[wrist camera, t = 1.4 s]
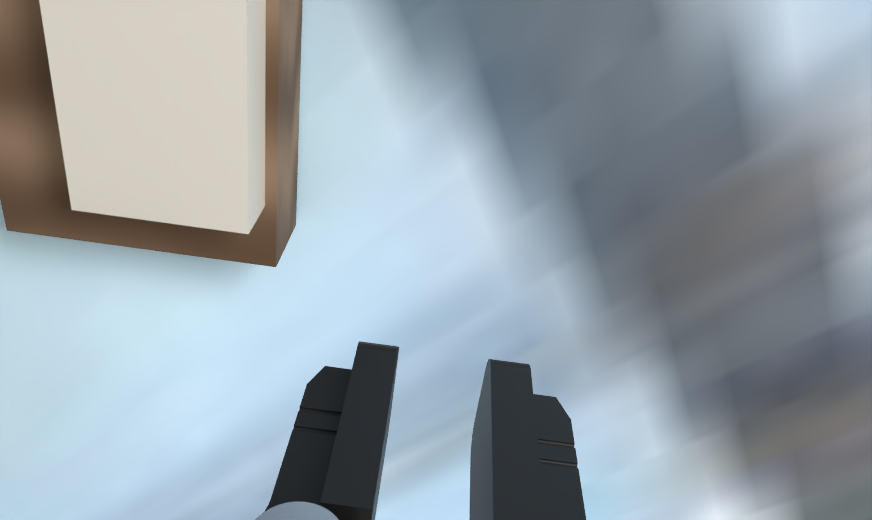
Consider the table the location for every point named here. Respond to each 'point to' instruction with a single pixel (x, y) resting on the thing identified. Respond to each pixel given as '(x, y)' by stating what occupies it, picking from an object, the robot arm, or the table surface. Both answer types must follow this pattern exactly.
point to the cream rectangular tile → (161, 107)
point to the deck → (52, 216)
